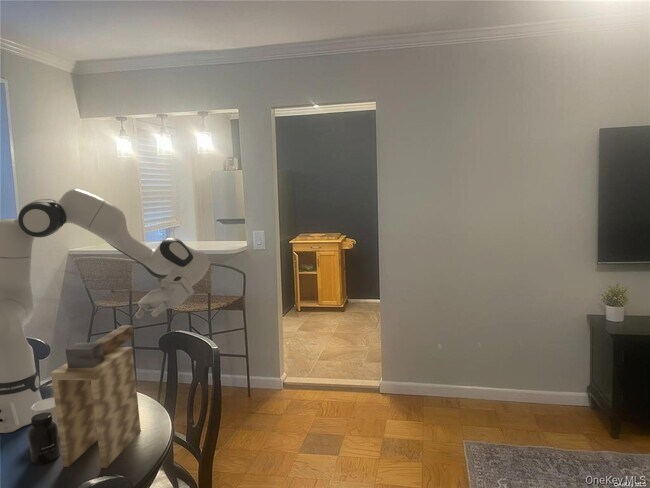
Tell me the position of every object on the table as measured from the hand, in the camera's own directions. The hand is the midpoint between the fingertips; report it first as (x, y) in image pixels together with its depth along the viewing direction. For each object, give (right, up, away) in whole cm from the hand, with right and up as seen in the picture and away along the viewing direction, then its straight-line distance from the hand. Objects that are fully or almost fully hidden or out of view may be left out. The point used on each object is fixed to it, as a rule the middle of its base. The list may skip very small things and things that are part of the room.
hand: (144, 316), depth 147 cm
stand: (-5, -34, -15) cm, 38 cm away
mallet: (-6, -8, -13) cm, 16 cm away
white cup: (-25, -34, -8) cm, 43 cm away
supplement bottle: (-19, -36, -19) cm, 45 cm away
